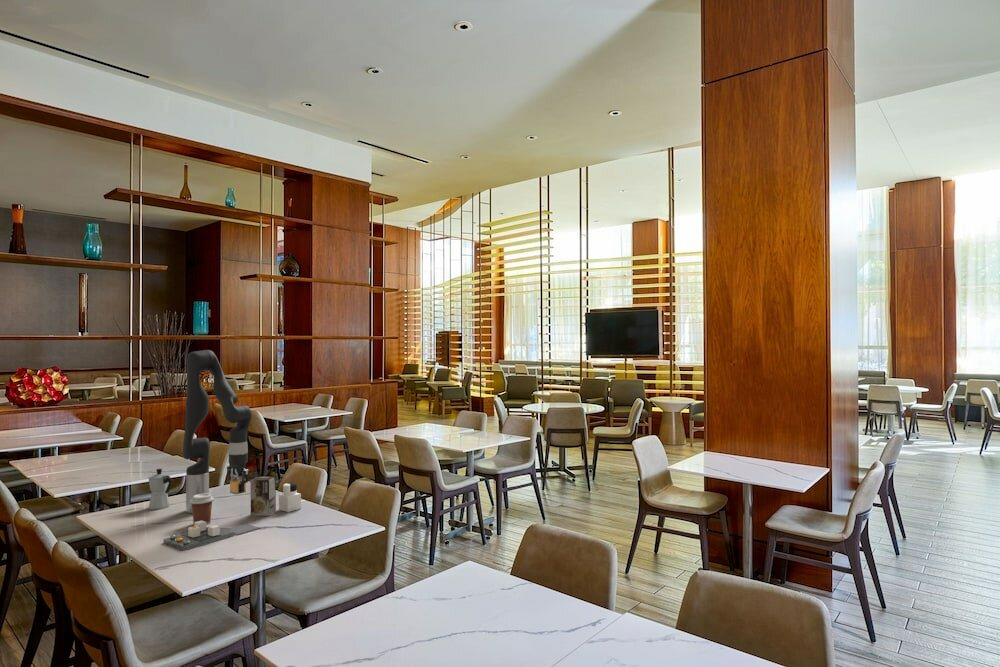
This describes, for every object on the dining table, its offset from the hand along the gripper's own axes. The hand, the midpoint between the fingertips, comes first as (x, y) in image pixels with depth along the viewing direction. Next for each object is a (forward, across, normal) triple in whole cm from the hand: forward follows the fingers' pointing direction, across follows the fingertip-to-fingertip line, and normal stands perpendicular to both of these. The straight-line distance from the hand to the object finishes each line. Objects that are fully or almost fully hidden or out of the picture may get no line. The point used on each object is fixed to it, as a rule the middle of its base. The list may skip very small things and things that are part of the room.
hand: (238, 491), depth 250 cm
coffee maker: (+14, -51, -8) cm, 53 cm away
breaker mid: (+11, +9, -24) cm, 28 cm away
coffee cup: (+13, -10, -10) cm, 19 cm away
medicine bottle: (+13, +4, +23) cm, 27 cm away
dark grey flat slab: (+13, +9, -22) cm, 27 cm away
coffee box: (+13, 0, +12) cm, 18 cm away
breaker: (+11, +14, -19) cm, 26 cm away
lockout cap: (+1, 0, 0) cm, 1 cm away
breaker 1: (+11, +4, -19) cm, 22 cm away
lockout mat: (+13, +12, -6) cm, 19 cm away
